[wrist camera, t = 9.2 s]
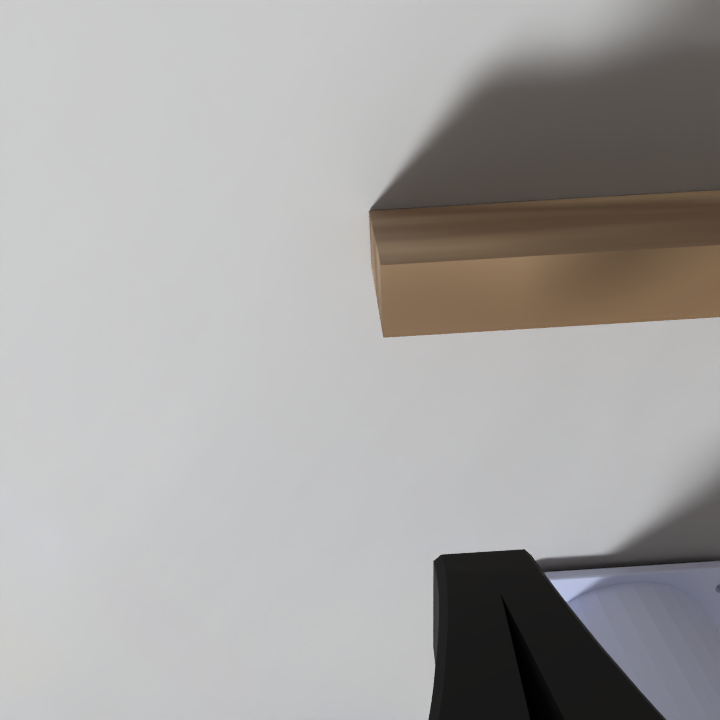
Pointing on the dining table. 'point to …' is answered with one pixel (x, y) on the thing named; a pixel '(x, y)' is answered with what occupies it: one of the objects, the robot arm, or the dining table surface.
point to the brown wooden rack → (547, 263)
